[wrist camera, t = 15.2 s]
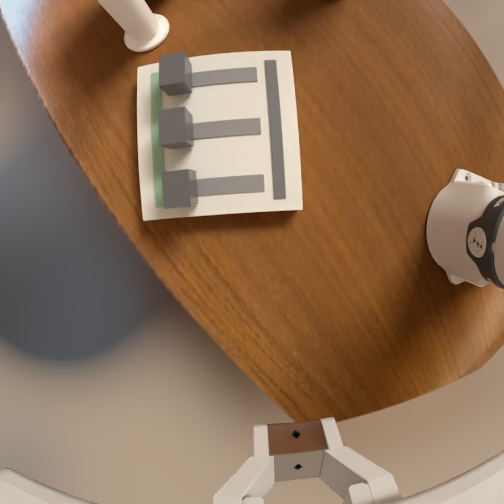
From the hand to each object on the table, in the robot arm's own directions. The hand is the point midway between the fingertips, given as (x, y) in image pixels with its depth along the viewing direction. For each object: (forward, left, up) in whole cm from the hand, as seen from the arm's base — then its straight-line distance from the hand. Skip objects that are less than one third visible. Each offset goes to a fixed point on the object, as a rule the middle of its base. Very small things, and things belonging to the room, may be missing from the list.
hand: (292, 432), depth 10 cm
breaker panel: (+5, -16, -31) cm, 35 cm away
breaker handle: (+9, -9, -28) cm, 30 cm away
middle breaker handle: (+9, -16, -28) cm, 33 cm away
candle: (+15, -34, -31) cm, 49 cm away
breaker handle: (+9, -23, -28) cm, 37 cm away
